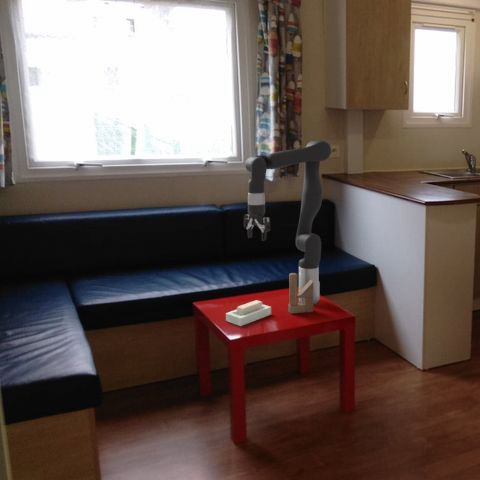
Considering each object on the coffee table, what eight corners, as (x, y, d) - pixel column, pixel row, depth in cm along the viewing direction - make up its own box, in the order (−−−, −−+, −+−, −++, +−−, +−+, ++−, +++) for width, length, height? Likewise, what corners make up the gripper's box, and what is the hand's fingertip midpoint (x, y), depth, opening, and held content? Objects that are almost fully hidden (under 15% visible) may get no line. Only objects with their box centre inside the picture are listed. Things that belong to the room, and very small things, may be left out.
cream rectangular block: (256, 310, 239) (256, 300, 238) (262, 312, 237) (262, 301, 236) (237, 317, 231) (237, 306, 230) (242, 319, 229) (242, 308, 227)
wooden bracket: (313, 311, 239) (313, 273, 235) (290, 314, 237) (290, 275, 233) (310, 309, 242) (310, 271, 238) (288, 311, 240) (287, 273, 236)
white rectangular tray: (256, 309, 243) (256, 302, 242) (271, 314, 237) (271, 306, 236) (226, 320, 230) (225, 313, 230) (240, 326, 224) (240, 318, 223)
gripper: (274, 203, 230) (274, 239, 233) (250, 200, 240) (251, 235, 243) (262, 205, 225) (262, 242, 228) (238, 202, 235) (239, 238, 238)
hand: (257, 239), depth 236 cm, fingers open, 8 cm apart
